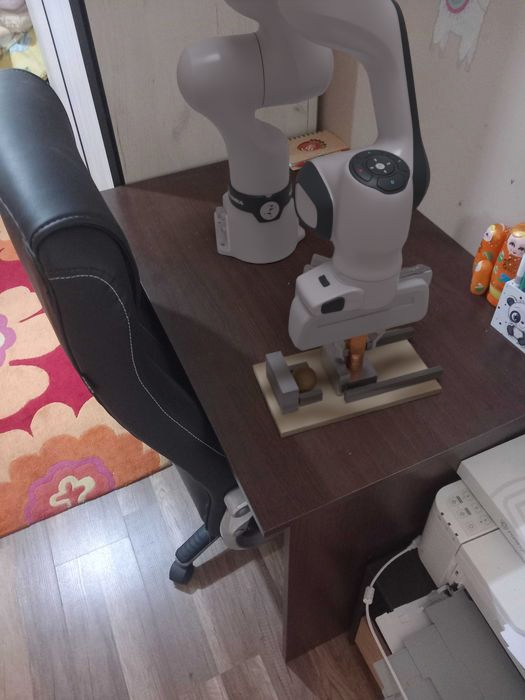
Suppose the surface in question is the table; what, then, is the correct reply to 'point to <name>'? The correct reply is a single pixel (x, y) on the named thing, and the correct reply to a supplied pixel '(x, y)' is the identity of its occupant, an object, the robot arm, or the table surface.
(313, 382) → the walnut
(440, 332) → the table surface
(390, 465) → the table surface
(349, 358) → the handle
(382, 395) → the press bed
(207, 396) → the table surface
